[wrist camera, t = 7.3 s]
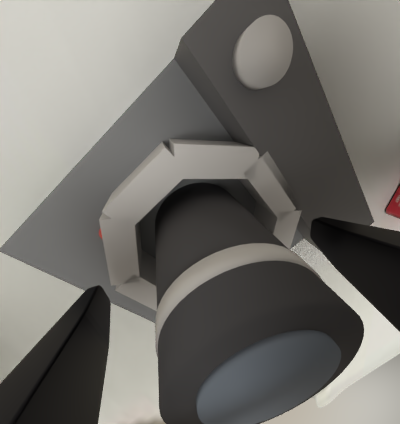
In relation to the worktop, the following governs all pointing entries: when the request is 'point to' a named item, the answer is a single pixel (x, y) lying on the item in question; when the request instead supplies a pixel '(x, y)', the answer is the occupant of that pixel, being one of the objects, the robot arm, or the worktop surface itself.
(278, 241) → the lens
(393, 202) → the ink box
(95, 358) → the robot arm
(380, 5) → the worktop surface
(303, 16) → the worktop surface
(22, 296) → the worktop surface
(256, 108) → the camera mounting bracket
